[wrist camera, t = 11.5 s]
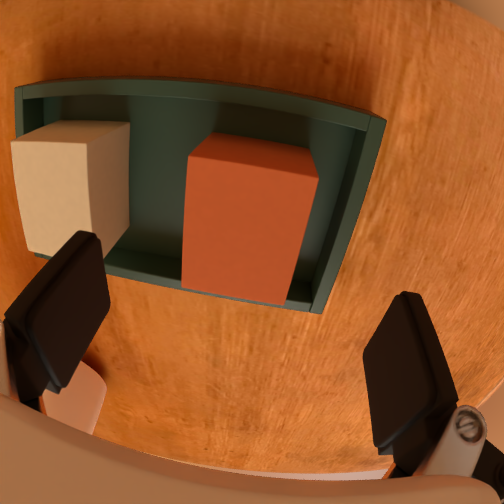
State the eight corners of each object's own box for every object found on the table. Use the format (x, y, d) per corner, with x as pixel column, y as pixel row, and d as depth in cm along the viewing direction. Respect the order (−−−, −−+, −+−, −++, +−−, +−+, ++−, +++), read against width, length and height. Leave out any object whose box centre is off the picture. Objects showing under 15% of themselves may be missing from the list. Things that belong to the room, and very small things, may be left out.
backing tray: (372, 112, 14) (387, 120, 12) (318, 287, 21) (321, 314, 18) (41, 81, 14) (14, 87, 12) (53, 237, 20) (34, 256, 18)
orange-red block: (309, 148, 15) (319, 177, 11) (284, 254, 19) (283, 306, 15) (211, 131, 15) (187, 155, 11) (200, 239, 19) (180, 287, 15)
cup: (45, 329, 27) (-16, 437, 15) (115, 363, 28) (67, 487, 16) (52, 368, 31) (7, 459, 19) (111, 397, 33) (75, 496, 21)
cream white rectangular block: (130, 121, 15) (86, 143, 11) (130, 226, 19) (97, 268, 15) (59, 119, 15) (10, 140, 11) (66, 214, 18) (28, 250, 15)
